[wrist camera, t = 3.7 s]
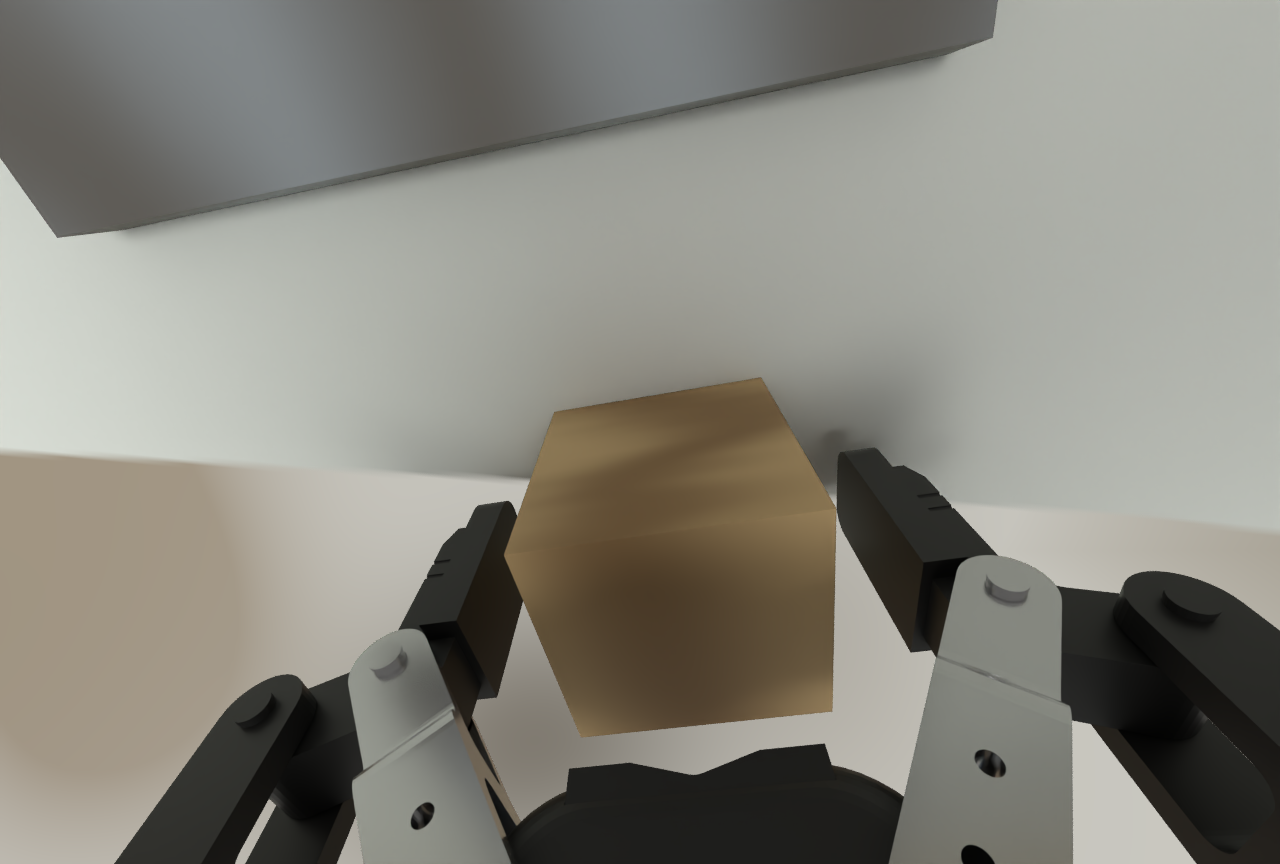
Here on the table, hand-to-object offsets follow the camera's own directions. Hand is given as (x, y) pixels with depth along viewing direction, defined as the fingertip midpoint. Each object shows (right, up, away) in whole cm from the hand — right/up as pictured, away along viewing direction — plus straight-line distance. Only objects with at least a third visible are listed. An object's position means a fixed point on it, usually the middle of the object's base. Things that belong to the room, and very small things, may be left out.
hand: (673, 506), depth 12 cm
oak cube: (0, +1, +1) cm, 1 cm away
